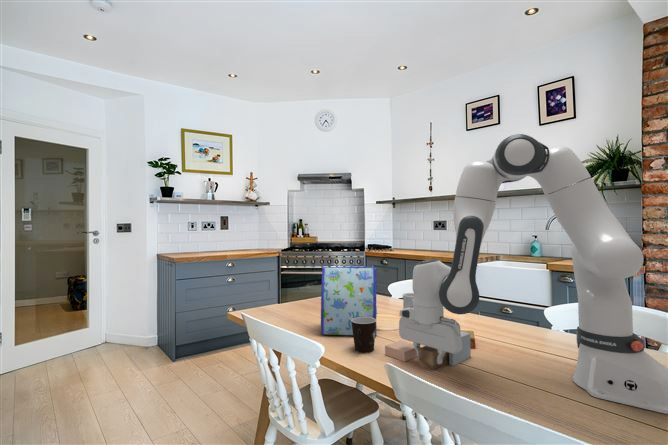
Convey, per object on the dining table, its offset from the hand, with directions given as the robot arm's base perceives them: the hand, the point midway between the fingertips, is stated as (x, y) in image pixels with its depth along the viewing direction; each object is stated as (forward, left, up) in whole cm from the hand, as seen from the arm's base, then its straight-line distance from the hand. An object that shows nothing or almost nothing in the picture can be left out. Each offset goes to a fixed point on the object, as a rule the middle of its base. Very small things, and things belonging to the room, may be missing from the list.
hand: (429, 360), depth 106 cm
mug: (+38, -41, -2) cm, 56 cm away
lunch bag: (+42, -6, -2) cm, 42 cm away
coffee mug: (+23, +6, -2) cm, 24 cm away
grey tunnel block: (0, -10, -2) cm, 10 cm away
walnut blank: (0, -5, -2) cm, 5 cm away
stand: (+11, -1, -2) cm, 11 cm away
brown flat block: (+7, -22, -2) cm, 23 cm away
